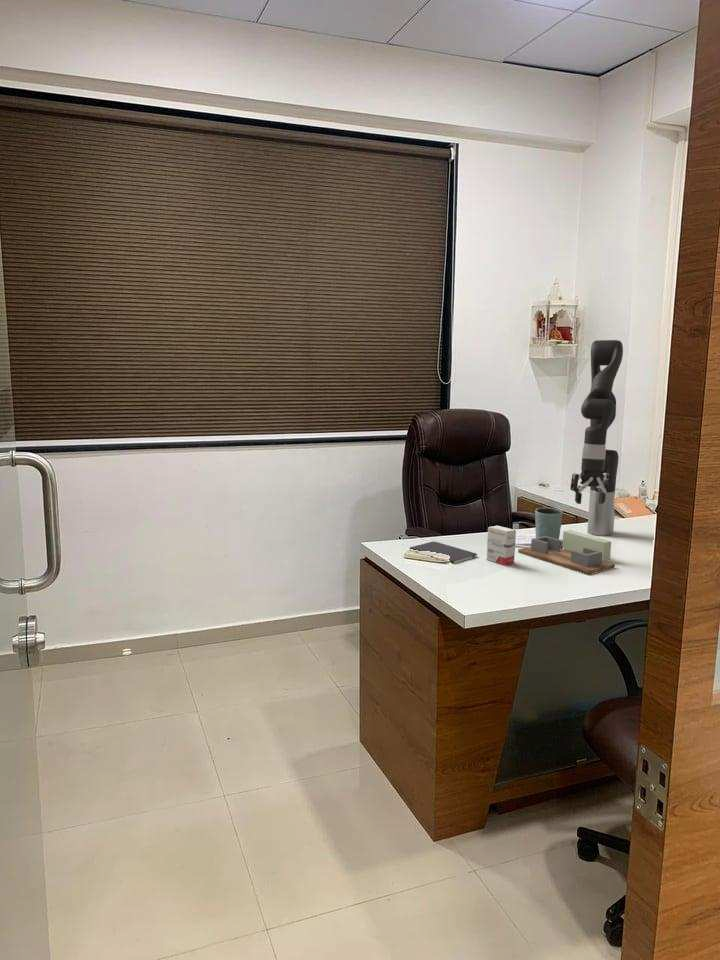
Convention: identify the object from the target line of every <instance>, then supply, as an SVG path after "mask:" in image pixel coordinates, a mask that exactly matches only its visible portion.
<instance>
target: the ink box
mask: <svg viewBox="0 0 720 960" xmlns="http://www.w3.org/2000/svg"><path fill="white" fill-rule="evenodd" d="M516 533H517V530H516V529H512V528H509V527H504V526H502V525H501V526H500V525H494V526H489V527H487V541H486V544H487V545H486V561H490V562H493V563H496V564H499V565H503V566H507V565H511V564H515V549H516V535H517V534H516Z"/></svg>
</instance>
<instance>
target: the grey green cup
mask: <svg viewBox="0 0 720 960" xmlns="http://www.w3.org/2000/svg"><path fill="white" fill-rule="evenodd" d="M534 511H535V512H534V514H535V523H534V524H535V537H536V538H538V537H543V536H548V537H551V538H555V539H558V540H560V535H561V527H562V522H563V516H564V515H563V514H564V512H563V510H561V509H560V508H555V507H554V508H553V507H537V508H535V510H534Z"/></svg>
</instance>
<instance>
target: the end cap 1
mask: <svg viewBox="0 0 720 960" xmlns="http://www.w3.org/2000/svg"><path fill="white" fill-rule="evenodd" d="M530 544H531V546H530V547H531V550H533V551H537V552H540V553H543V554H548V549H551V550H554V551H557V552H558V551H560V548H561V539H559V540H558V539H555V538H551V537H548V536H543V537H538V538H535V537H533V538H531V542H530Z"/></svg>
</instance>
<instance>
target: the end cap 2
mask: <svg viewBox="0 0 720 960" xmlns="http://www.w3.org/2000/svg"><path fill="white" fill-rule="evenodd" d="M571 562H572V563H575V564H578V565H581V566H584V567H591V566H594V565H598V564H601V563H602V552H600V551H597V550H593V549H590V548H586V547H585V548H583V553H582V552H578V551H575V550H572V551H571Z"/></svg>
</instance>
